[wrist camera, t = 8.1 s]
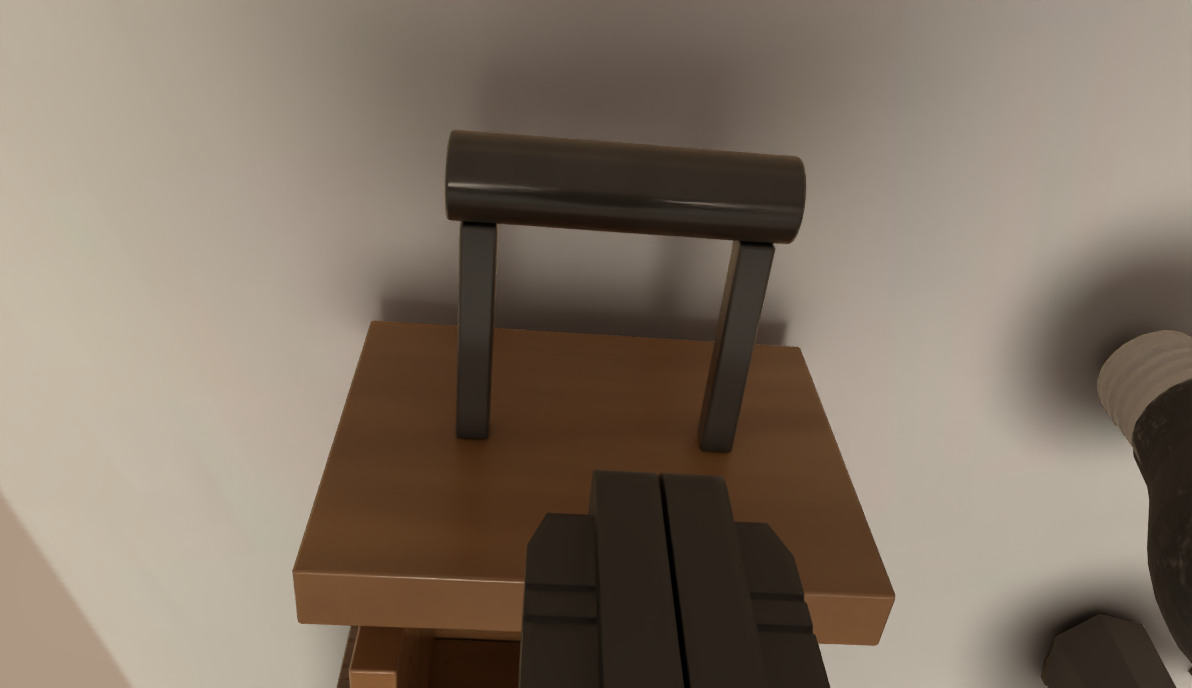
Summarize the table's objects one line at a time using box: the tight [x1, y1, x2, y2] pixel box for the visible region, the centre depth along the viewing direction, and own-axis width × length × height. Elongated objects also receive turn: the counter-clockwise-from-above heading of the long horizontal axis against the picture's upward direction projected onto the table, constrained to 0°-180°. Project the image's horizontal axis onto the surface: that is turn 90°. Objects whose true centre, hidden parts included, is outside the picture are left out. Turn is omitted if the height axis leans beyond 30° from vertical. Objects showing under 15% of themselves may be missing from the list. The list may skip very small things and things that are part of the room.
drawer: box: [293, 130, 895, 688], centre depth 19 cm, size 15×9×7 cm, turn 174°
